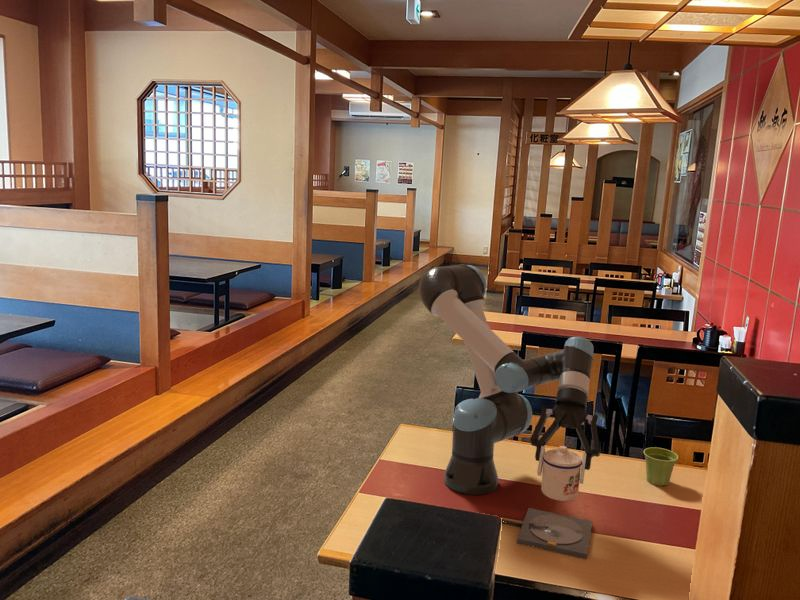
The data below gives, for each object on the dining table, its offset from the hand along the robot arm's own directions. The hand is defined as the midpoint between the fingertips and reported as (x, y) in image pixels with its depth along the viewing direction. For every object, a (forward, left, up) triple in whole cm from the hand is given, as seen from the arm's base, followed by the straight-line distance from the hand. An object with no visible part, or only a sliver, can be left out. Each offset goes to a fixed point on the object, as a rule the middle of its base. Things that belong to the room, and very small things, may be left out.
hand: (560, 477), depth 150 cm
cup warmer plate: (-4, +3, -16) cm, 17 cm away
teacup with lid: (0, +3, -5) cm, 6 cm away
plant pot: (+24, +45, -17) cm, 54 cm away
